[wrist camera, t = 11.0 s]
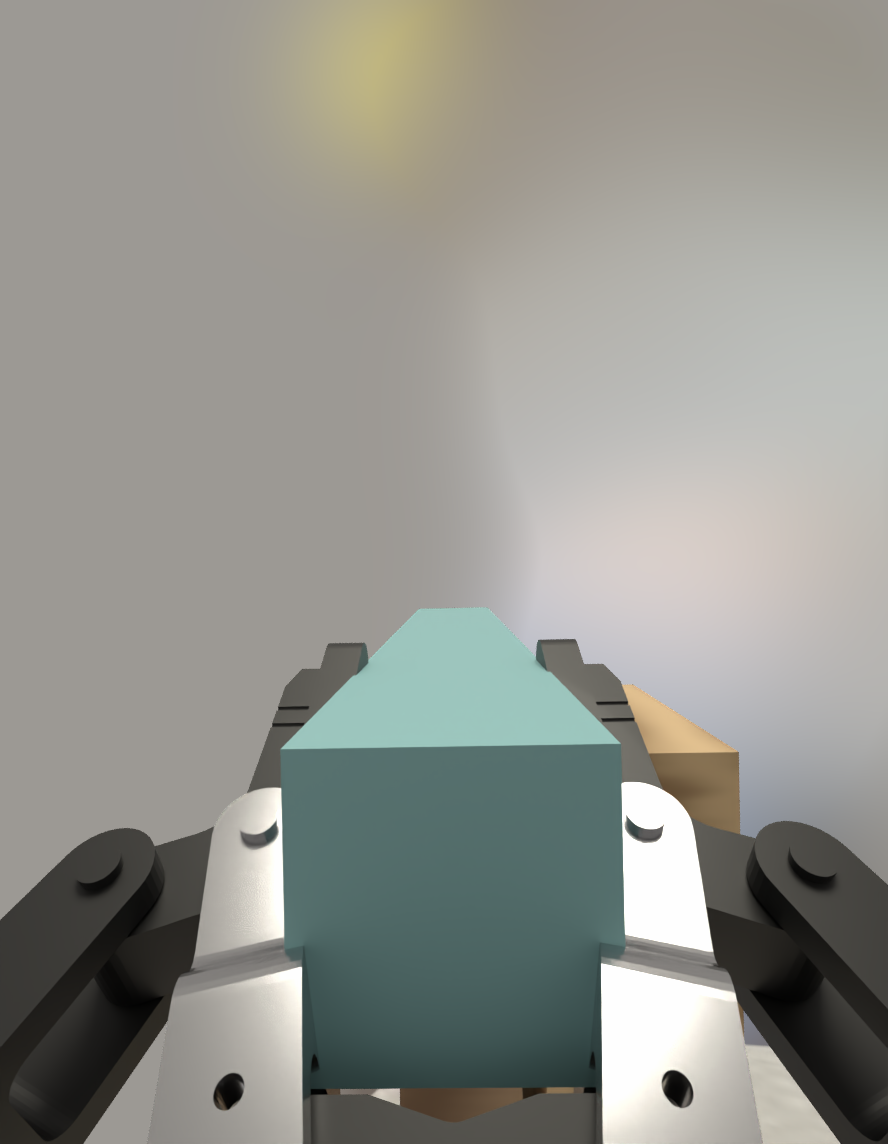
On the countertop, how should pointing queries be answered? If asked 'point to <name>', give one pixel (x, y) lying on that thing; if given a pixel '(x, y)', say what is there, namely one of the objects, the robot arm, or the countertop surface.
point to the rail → (452, 864)
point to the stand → (684, 777)
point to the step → (457, 1101)
